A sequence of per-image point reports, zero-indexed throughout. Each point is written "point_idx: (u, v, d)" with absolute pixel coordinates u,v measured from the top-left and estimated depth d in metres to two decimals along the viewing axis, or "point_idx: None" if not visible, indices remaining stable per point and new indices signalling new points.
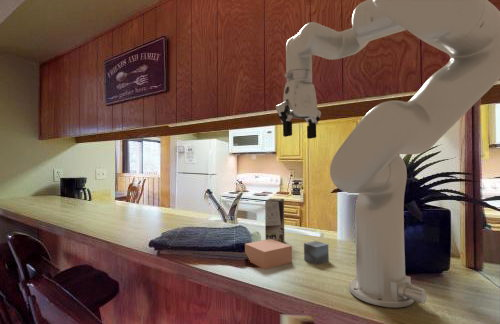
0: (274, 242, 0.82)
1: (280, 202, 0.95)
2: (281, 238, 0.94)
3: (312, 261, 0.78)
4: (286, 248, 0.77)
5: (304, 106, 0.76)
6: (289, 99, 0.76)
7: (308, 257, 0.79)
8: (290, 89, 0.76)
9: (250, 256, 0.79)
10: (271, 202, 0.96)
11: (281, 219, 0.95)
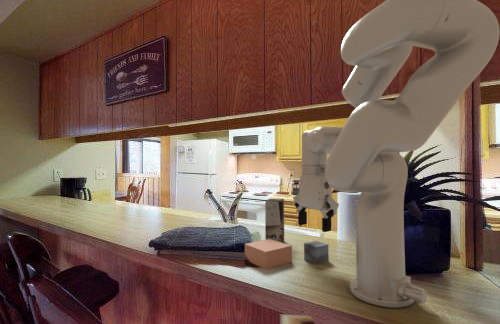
0: (274, 242, 0.82)
1: (280, 202, 0.95)
2: (281, 238, 0.94)
3: (312, 261, 0.78)
4: (286, 248, 0.78)
5: None
6: (330, 195, 0.77)
7: (308, 256, 0.79)
8: (330, 185, 0.78)
9: (250, 256, 0.78)
10: (271, 202, 0.96)
11: (281, 219, 0.95)
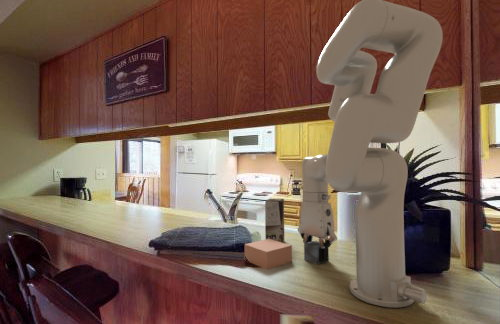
0: (274, 242, 0.82)
1: (280, 202, 0.95)
2: (281, 238, 0.94)
3: (312, 261, 0.78)
4: (286, 247, 0.78)
5: None
6: (331, 222, 0.77)
7: (308, 256, 0.79)
8: (331, 212, 0.77)
9: (250, 256, 0.78)
10: (271, 202, 0.96)
11: (281, 219, 0.95)
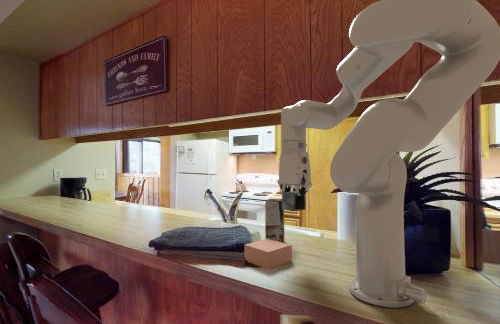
0: (273, 242, 0.82)
1: (280, 202, 0.95)
2: (281, 238, 0.94)
3: (289, 208, 0.79)
4: (287, 247, 0.78)
5: None
6: (308, 170, 0.77)
7: (285, 205, 0.80)
8: (308, 160, 0.78)
9: (251, 256, 0.78)
10: (271, 202, 0.96)
11: (281, 219, 0.95)
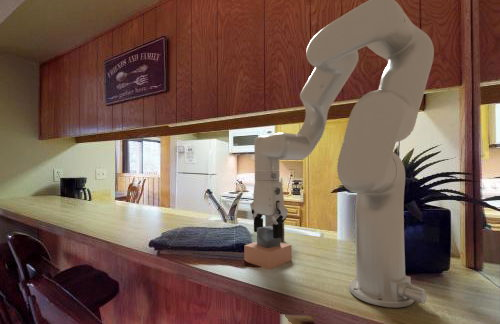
0: None
1: None
2: (281, 238, 0.94)
3: (263, 245, 0.78)
4: (287, 247, 0.79)
5: None
6: (281, 201, 0.77)
7: (260, 241, 0.79)
8: (281, 191, 0.77)
9: (251, 257, 0.78)
10: None
11: None
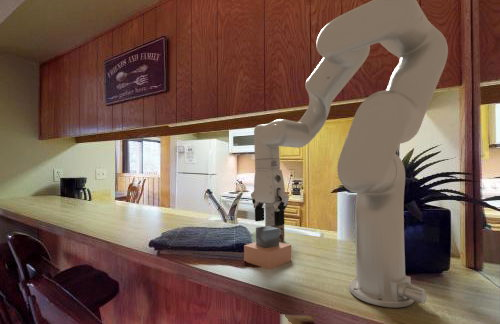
0: None
1: None
2: (281, 238, 0.94)
3: (262, 245, 0.78)
4: (287, 247, 0.79)
5: None
6: (281, 188, 0.77)
7: (259, 241, 0.79)
8: (281, 178, 0.77)
9: (251, 257, 0.78)
10: None
11: None
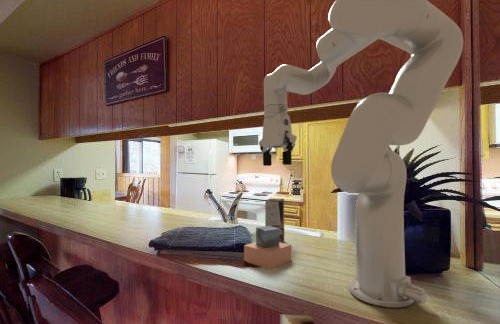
0: None
1: (280, 202, 0.95)
2: (281, 238, 0.94)
3: (262, 244, 0.78)
4: (287, 247, 0.79)
5: None
6: (289, 131, 0.83)
7: (259, 240, 0.79)
8: (289, 122, 0.84)
9: (251, 257, 0.78)
10: (271, 202, 0.96)
11: (281, 219, 0.95)
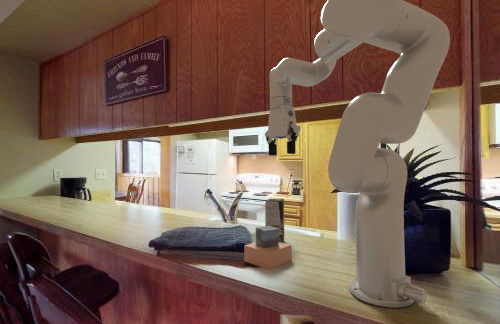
0: None
1: (280, 202, 0.95)
2: (281, 238, 0.94)
3: (261, 244, 0.78)
4: (287, 247, 0.78)
5: None
6: (293, 122, 0.87)
7: (258, 240, 0.80)
8: (293, 114, 0.88)
9: (251, 257, 0.77)
10: (271, 202, 0.96)
11: (281, 219, 0.95)
